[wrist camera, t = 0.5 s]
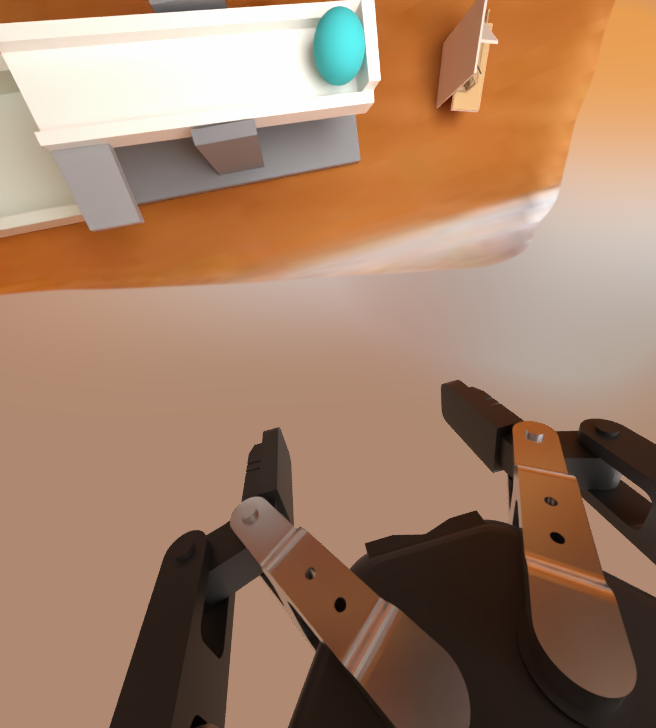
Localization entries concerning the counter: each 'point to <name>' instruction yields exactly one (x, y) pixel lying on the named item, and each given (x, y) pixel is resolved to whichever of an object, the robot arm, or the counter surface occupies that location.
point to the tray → (28, 170)
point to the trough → (171, 85)
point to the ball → (339, 45)
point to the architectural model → (466, 60)
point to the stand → (233, 147)
